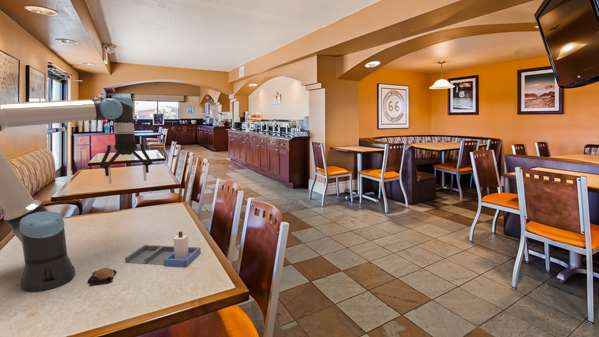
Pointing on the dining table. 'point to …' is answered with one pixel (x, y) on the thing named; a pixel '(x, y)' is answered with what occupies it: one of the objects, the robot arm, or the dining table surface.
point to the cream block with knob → (181, 246)
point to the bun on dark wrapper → (102, 277)
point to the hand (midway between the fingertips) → (128, 182)
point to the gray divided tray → (161, 256)
